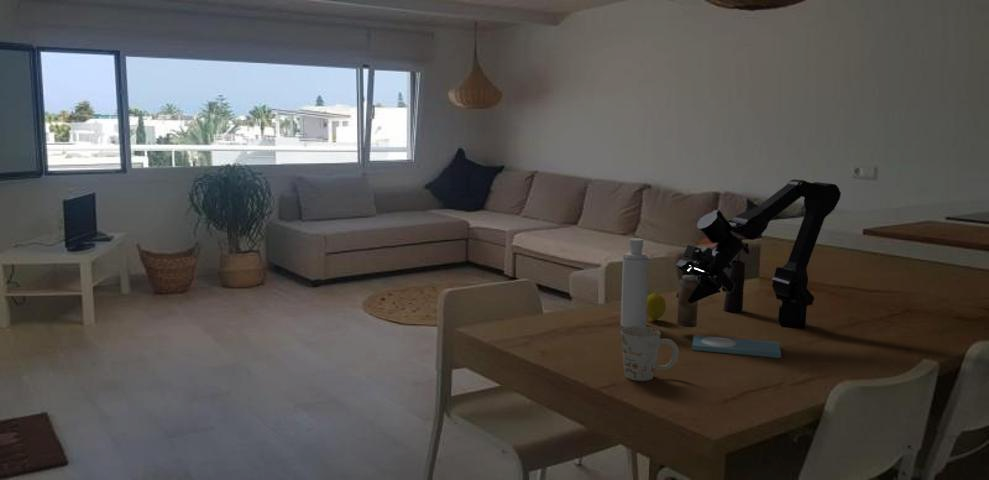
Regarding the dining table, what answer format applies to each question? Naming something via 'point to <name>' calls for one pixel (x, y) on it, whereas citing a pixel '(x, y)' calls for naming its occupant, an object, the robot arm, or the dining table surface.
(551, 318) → the dining table surface
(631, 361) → the mug
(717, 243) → the robot arm
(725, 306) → the butter churn
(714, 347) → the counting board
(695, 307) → the pepper mill
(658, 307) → the lemon
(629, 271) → the white bottle
